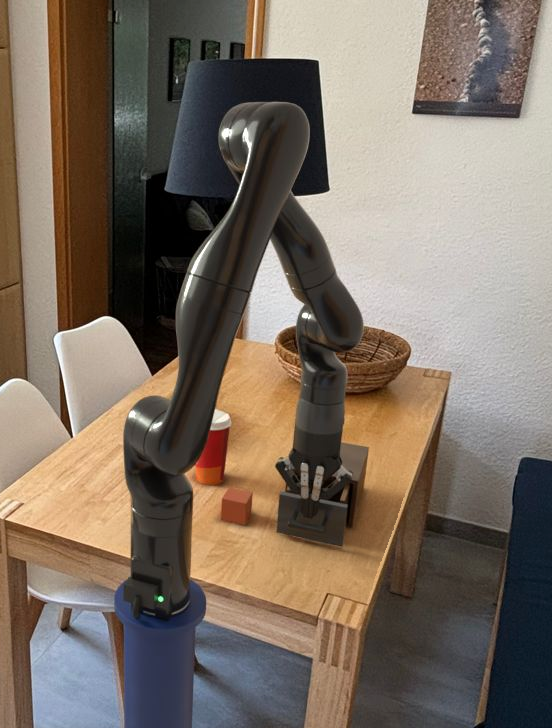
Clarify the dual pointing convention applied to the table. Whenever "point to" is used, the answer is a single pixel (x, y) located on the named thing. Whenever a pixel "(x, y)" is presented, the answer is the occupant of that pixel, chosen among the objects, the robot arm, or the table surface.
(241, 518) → the block
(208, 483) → the paper cup
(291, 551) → the table surface
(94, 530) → the table surface
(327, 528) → the drawer
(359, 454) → the cabinet
